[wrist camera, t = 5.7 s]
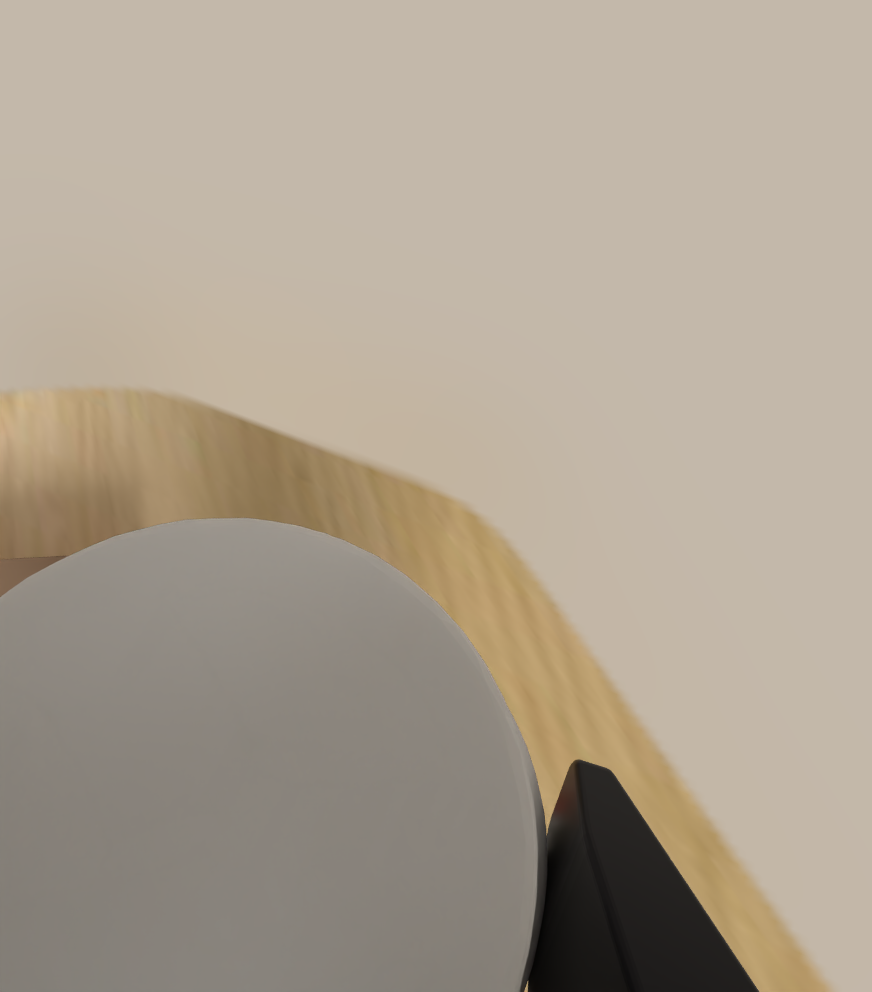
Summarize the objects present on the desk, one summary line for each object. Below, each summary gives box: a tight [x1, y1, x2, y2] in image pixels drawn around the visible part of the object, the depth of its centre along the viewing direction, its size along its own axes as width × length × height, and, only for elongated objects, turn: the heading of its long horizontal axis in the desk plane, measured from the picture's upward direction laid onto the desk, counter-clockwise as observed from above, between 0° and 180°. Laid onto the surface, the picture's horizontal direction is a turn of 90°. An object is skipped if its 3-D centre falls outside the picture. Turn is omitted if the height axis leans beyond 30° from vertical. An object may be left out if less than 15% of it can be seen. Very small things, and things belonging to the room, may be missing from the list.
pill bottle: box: [0, 518, 548, 992], centre depth 9 cm, size 6×6×10 cm
